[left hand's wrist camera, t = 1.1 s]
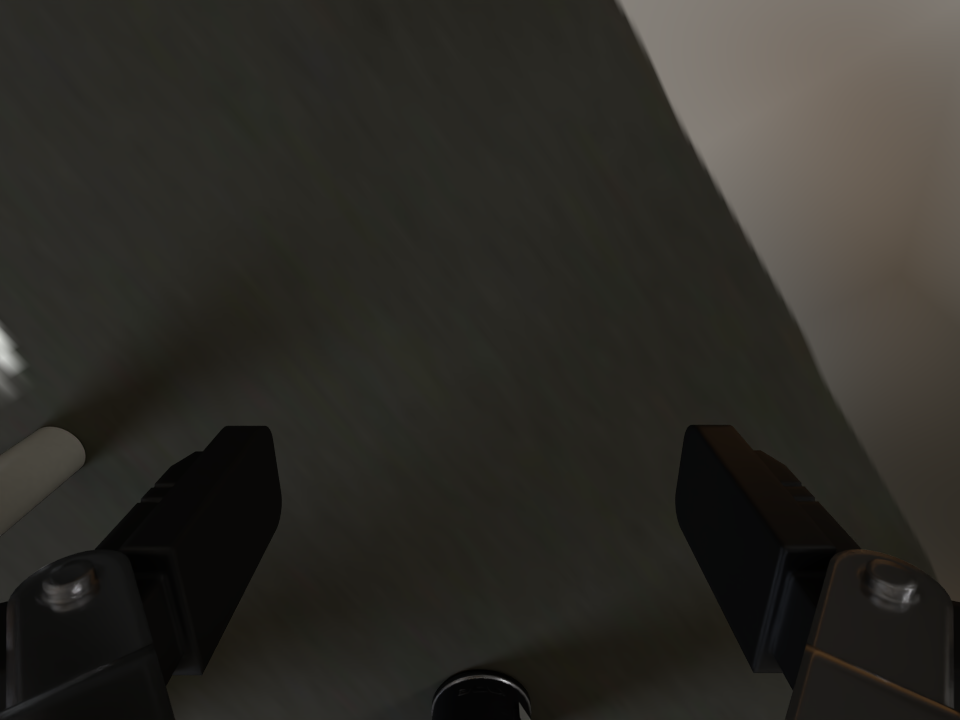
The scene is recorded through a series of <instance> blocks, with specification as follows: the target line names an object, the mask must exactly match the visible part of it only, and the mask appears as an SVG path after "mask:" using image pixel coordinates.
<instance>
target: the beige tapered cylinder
mask: <svg viewBox="0 0 960 720" xmlns="http://www.w3.org/2000/svg"><path fill="white" fill-rule="evenodd" d="M84 462H85V450H84V448H83V446H82V444H81V442H80V441H79V440H78V439H77V438H76V437H75V436H74V435H73V434H71V433H70V432H68V431H66V430H64V429H61V428H57V427H43V428H40V429H38V430H36V431H34V432H33V433H32V434H30V435H29V436H27V437H26V438H24V439H23V440H21V441H20V442H18V443H17V444H15V445H14V446H12V447H11V448H9V449H8V450H6V451H5V452H4V453H2V454H1V455H0V537H1V536H2V535H3V534H4V533H5V532H7V531H8V530H9V529H10V528H11V527H12V526H14V525H15V524H16V523H17V522H18V521H20V520H21V519H22V518H23V517H24V516H25V515H27V514H28V513H29V512H30V511H31V510H32V509H34V508H35V507H36V506H37V505H38V504H40V503H41V502H42V501H43V500H44V499H45V498H47V497H48V496H49V495H50V494H51V493H52V492H54V491H55V490H56V489H57V488H58V487H60V486H61V485H62V484H63V483H64V482H65V481H67V480H68V479H69V478H70V477H71V476H73V475H74V474H75V473H76V472H77V471H78V470H80V469H81V468H82V466H83V465H84Z"/></svg>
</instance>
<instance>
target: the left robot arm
mask: <svg viewBox="0 0 960 720" xmlns="http://www.w3.org/2000/svg"><path fill="white" fill-rule="evenodd" d="M675 505H676V514H677V519H678V522H679V525H680V528H681V530H682V532H683V534H684V536H685V538H686V540H687V542H688V544H689V546H690V548H691V550H692V552H693V554H694V556H695V558H696V560H697V562H698V564H699V566H700V567H701V569H702V571H703V573H704V575H705V577H706V579H707V581H708V583H709V585H710V587H711V589H712V591H713V593H714V595H715V597H716V599H717V601H718V603H719V605H720V607H721V609H722V611H723V613H724V615H725V617H726V619H727V621H728V623H729V625H730V627H731V629H732V631H733V633H734V635H735V637H736V639H737V641H738V643H739V645H740V647H741V649H742V651H743V653H744V655H745V657H746V659H747V661H748V663H749V665H750V667H751V669H752V671H753V673H783V674H784V675H785V677H786V679H787V681H788V683H789V684H790V686H791V688H792V690H793V693H792V696H791V700H790V703H789V707H788V710H787V714H786V717H785V720H960V602H956V601H951V599H950V596H949V595H948V593H947V592H946V591H945V589H944V588H943V587H942V586H941V585H940V584H939V583H938V582H937V581H936V580H934V579H933V578H932V577H931V576H929V575H928V574H927V573H925V572H924V571H922V570H921V569H919V568H917V567H915V566H914V565H912V564H910V563H908V562H905V561H903V560H901V559H899V558H896V557H893V556H890V555H887V554H884V553H880V552H876V551H870V550H862V549H861V548H860V547H859V546H858V545H857V544H856V543H855V541H854V540H853V539H852V538H851V537H850V536H849V535H848V534H847V533H846V532H845V530H844V529H843V528H842V527H841V526H840V525H839V524H838V523H837V522H836V521H835V519H834V518H833V517H832V516H831V515H830V514H829V513H828V512H827V511H826V510H825V508H824V507H823V506H822V505H821V504H820V503H819V502H818V501H815V497H814V496H813V495H812V494H811V493H810V492H809V491H808V490H807V489H806V488H805V487H802V486H801V482H800V481H799V480H798V479H797V478H796V477H795V475H794V474H793V473H792V472H791V471H790V470H789V469H788V468H787V467H786V466H785V465H784V464H782V463H781V462H779V461H777V460H776V459H774V458H772V457H771V456H769V455H767V454H766V453H764V452H762V451H761V450H753V449H752V448H751V447H750V446H749V445H748V444H747V442H746V441H745V440H744V439H743V438H742V437H741V435H740V434H739V433H738V432H737V431H736V429H735V428H734V427H733V426H731V425H690V426H689V427H688V428H687V430H686V432H685V436H684V441H683V448H682V455H681V461H680V468H679V475H678V481H677V488H676V496H675ZM281 507H282V497H281V489H280V483H279V476H278V469H277V463H276V456H275V450H274V443H273V437H272V434H271V431H270V429H269V428H268V427H267V426H226V427H224V428H223V429H222V430H221V431H220V432H219V433H218V435H217V436H216V437H215V438H214V439H213V440H212V441H211V443H210V444H209V445H208V446H207V447H206V448H205V450H204V451H203V452H194V453H192V454H191V455H189V456H187V457H186V458H184V459H183V460H181V461H179V462H178V463H176V464H174V465H173V466H171V467H170V468H169V469H168V470H167V471H166V472H165V473H164V475H163V476H162V477H161V478H160V479H159V480H158V481H157V482H156V483H155V487H154V488H151V489H150V490H149V491H148V492H147V493H146V494H145V495H144V496H143V497H142V498H141V503H137V504H136V505H135V506H134V507H133V508H132V509H131V510H130V512H129V513H128V514H127V515H126V516H125V517H124V518H123V519H122V520H121V521H120V522H119V524H118V525H117V526H116V527H115V528H114V529H113V530H112V531H111V532H110V533H109V534H108V536H107V537H106V538H105V539H104V540H103V541H102V542H101V543H100V544H99V545H98V546H97V548H96V549H95V550H90V551H84V552H80V553H76V554H73V555H70V556H67V557H64V558H61V559H59V560H57V561H55V562H52V563H50V564H48V565H46V566H45V567H43V568H41V569H39V570H38V571H36V572H35V573H33V574H32V575H31V576H29V577H28V578H27V579H26V580H24V581H23V582H22V583H21V584H20V585H19V586H18V587H17V588H16V589H15V591H14V592H13V593H12V595H11V596H10V599H9V601H7V602H4V603H0V720H175V717H174V714H173V710H172V707H171V703H170V700H169V696H168V693H167V689H166V685H167V683H168V682H169V680H170V678H171V676H172V675H202V674H203V672H204V670H205V668H206V666H207V664H208V662H209V660H210V658H211V656H212V654H213V652H214V650H215V648H216V647H217V645H218V643H219V641H220V639H221V637H222V635H223V633H224V631H225V629H226V627H227V625H228V623H229V621H230V619H231V617H232V615H233V613H234V611H235V609H236V607H237V605H238V603H239V601H240V599H241V597H242V596H243V594H244V592H245V590H246V588H247V586H248V584H249V582H250V580H251V578H252V576H253V574H254V572H255V570H256V568H257V566H258V564H259V562H260V560H261V558H262V556H263V554H264V552H265V550H266V548H267V546H268V545H269V543H270V541H271V539H272V537H273V535H274V533H275V531H276V529H277V526H278V524H279V520H280V515H281ZM432 720H531V702H530V698H529V695H528V693H527V691H526V690H525V688H524V687H523V686H522V685H521V684H520V683H519V682H518V681H516V680H515V679H513V678H511V677H509V676H507V675H505V674H502V673H498V672H494V671H486V670H477V671H469V672H464V673H461V674H458V675H456V676H453V677H452V678H450V679H448V680H447V681H445V682H444V683H443V684H442V685H441V686H440V687H439V688H438V689H437V691H436V693H435V695H434V697H433V701H432Z"/></svg>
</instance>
